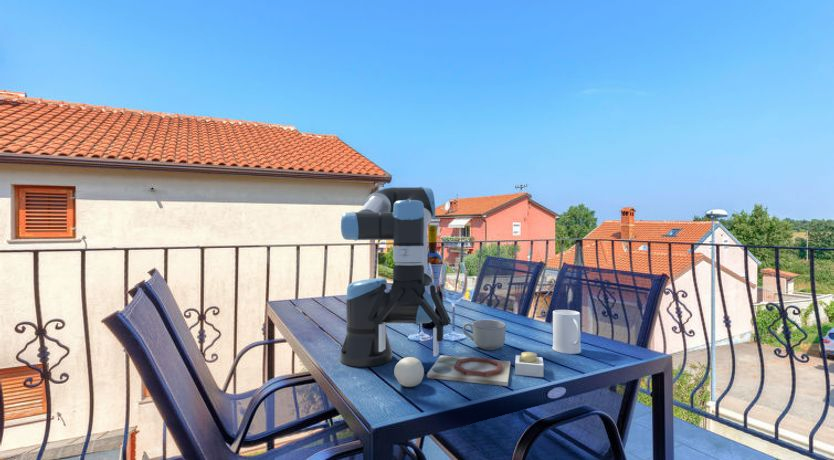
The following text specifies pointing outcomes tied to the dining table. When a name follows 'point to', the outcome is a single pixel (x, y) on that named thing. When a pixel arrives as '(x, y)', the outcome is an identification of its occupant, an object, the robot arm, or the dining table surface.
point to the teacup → (487, 333)
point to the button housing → (529, 367)
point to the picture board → (471, 370)
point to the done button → (529, 357)
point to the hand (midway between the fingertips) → (408, 352)
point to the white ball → (409, 371)
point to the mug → (566, 331)
